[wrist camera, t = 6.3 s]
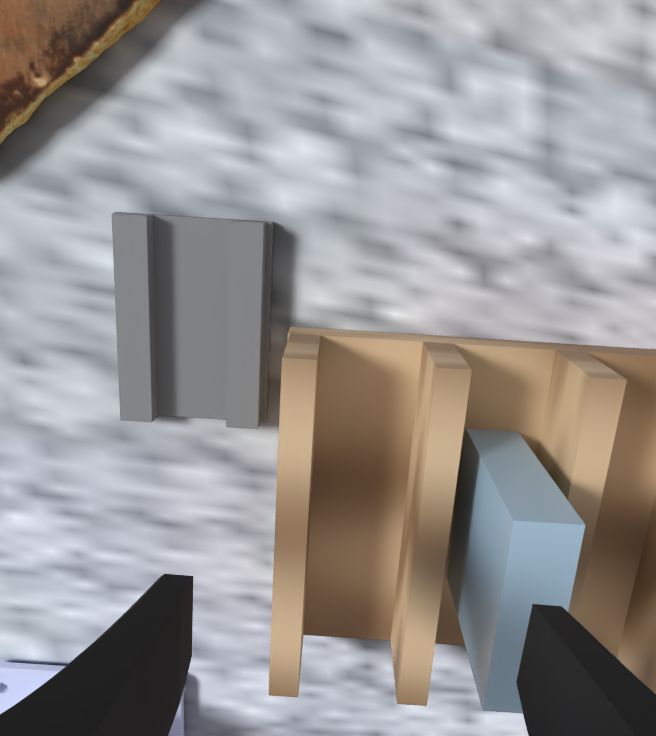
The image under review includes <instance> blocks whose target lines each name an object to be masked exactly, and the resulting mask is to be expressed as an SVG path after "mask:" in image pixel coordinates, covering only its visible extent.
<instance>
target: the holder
mask: <svg viewBox="0 0 656 736" xmlns="http://www.w3.org/2000/svg"><path fill="white" fill-rule="evenodd" d="M112 232H113V255H114V278H115V302H116V325H117V348H118V372H119V395H120V419H121V420H123V421H139V422H153V420H154V419H155V418H156V417H157V416H158V415H165V416H180V417H196V418H212V419H226V427H233V428H248V429H258V427H259V424H260V422H266V420H267V401H268V370H269V339H270V309H271V278H272V247H273V222H266V221H250V220H234V219H218V218H202V217H186V216H170V215H154V214H138V213H122V212H114V214H112Z"/></svg>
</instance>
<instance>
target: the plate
mask: <svg viewBox="0 0 656 736" xmlns="http://www.w3.org/2000/svg"><path fill="white" fill-rule="evenodd" d="M584 530H585V524H584V522H583V521H582V519H581V518H580V517H579V515H578V514H577V513H576V511H575V510H574V508H573V507H572V506H571V504H570V503H569V501H568V500H567V499H566V497H565V496H564V494H563V493H562V492H561V490H560V489H559V488H558V486H557V485H556V483H555V482H554V481H553V479H552V478H551V476H550V475H549V474H548V472H547V471H546V470H545V468H544V467H543V465H542V464H541V463H540V461H539V460H538V458H537V457H536V456H535V454H534V453H533V452H532V450H531V449H530V447H529V446H528V445H527V443H526V442H525V440H524V439H523V438H522V436H521V435H520V433H519V432H516V431H498V430H481V429H466V433H465V441H464V449H463V456H462V464H461V472H460V480H459V487H458V495H457V503H456V511H455V519H454V526H453V534H452V542H451V550H450V557H449V565H448V573H447V579H448V583H449V587H450V590H451V594H452V598H453V602H454V605H455V609H456V613H457V616H458V620H459V624H460V628H461V631H462V635H463V639H464V642H465V646H466V650H467V654H468V657H469V661H470V665H471V669H472V672H473V676H474V680H475V683H476V687H477V691H478V695H479V698H480V702H481V706H482V709H483V711H496V712H512V713H523V711H522V706H521V702H520V697H519V693H518V688H517V684H516V681H517V676H518V671H519V667H520V662H521V657H522V652H523V648H524V643H525V638H526V633H527V628H528V624H529V619H530V614H531V609H532V605H533V604H540V605H552V606H562V607H563V608H564V609H565V610H566V611H567V612H568V610H569V605H570V600H571V595H572V590H573V585H574V580H575V575H576V570H577V565H578V560H579V555H580V550H581V545H582V540H583V535H584Z"/></svg>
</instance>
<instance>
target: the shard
mask: <svg viewBox="0 0 656 736" xmlns="http://www.w3.org/2000/svg"><path fill="white" fill-rule="evenodd" d="M160 1H161V0H0V144H1V143H2V142H3V140H4V139H5V138H6V137H7V136H8V135H9V134H10V133H11V132H12V131H13V130H14V129H15V128H17V127H19V126H21V125H22V124H24V123H25V122H26V121H27V120H28V119H29V118H30V117H31V115H32V114H33V112H34V111H35V110H36V108H37V107H38V106H39V105H40V103H41V102H42V100H43V99H45V98H46V97H47V96H49V95H50V94H51V93H52V92H54V91H55V90H56V89H57V88H58V87H60V86H61V85H62V84H64V83H65V82H67V81H68V80H69V79H70V78H72V77H74V76H75V75H77V74H78V73H79V72H81V71H82V70H84V69H85V68H86V67H88V65H89V64H90V63H91V62H92V61H93V60H95V59H96V58H98V57H99V55H100V54H101V53H102V52H103V51H104V50H105V49H107V48H110V47H111V46H112V45H113V44H114V43H116V42H117V41H119V39H120V38H121V37H122V36H123V34H124V33H126V32H128V31H130V30H132V29H133V28H134V27H135V26H136V25H137V24H139V23H140V22H142V21H143V20H144V19H145V17H146V16H147V15H148V14H149V13H150V12H151V11H152V10H153V8H155V7H156V6H157V5H158V4H159V3H160Z"/></svg>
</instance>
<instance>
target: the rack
mask: <svg viewBox="0 0 656 736" xmlns="http://www.w3.org/2000/svg"><path fill="white" fill-rule="evenodd" d="M466 429H481V430H498V431H516V432H519V433H520V435H521V436H522V438H523V439H524V440H525V442H526V443H527V445H528V446H529V447H530V449H531V450H532V452H533V453H534V454H535V456H536V457H537V458H538V460H539V461H540V463H541V464H542V465H543V467H544V468H545V470H546V471H547V472H548V474H549V475H550V476H551V478H552V479H553V481H554V482H555V483H556V485H557V486H558V488H559V489H560V490H561V492H562V493H563V494H564V496H565V497H566V499H567V500H568V501H569V503H570V504H571V506H572V507H573V508H574V510H575V511H576V513H577V514H578V515H579V517H580V518H581V519H582V521H583V522H584V524H585V530H584V535H583V540H582V545H581V550H580V555H579V560H578V565H577V570H576V575H575V580H574V585H573V590H572V595H571V600H570V605H569V610H568V612H569V613H570V614H571V615H572V616H573V617H574V618H575V619H576V620H577V621H578V622H579V623H580V624H581V625H582V626H583V627H584V628H585V629H587V630H588V631H589V632H590V633H591V634H592V635H593V636H594V637H595V638H596V639H597V640H598V641H599V642H600V643H601V644H602V645H603V646H604V647H605V648H606V649H607V650H608V651H609V652H610V653H611V654H613V655H617V656H618V658H619V660H620V662H621V663H622V664H623V665H624V666H625V667H626V668H627V669H629V670H630V671H631V672H632V673H633V674H634V675H635V676H636V677H637V678H638V679H639V680H640V681H642V682H643V683H644V684H645V685H646V686H647V687H648V688H649V689H651V690H652V691H653V692H654V693H655V694H656V350H654V349H638V348H622V347H606V346H590V345H575V344H559V343H543V342H527V341H512V340H496V339H480V338H464V337H448V336H433V335H417V334H401V333H385V332H370V331H354V330H338V329H322V328H306V327H291V326H290V328H289V331H288V334H287V345H286V348H285V350H284V353H283V356H282V367H281V392H280V418H279V444H278V469H277V495H276V521H275V546H274V572H273V598H272V623H271V649H270V675H269V695H271V696H286V697H298V691H299V679H300V668H301V656H302V645H303V635H315V636H331V637H346V638H361V639H376V640H391V649H392V659H393V668H394V677H395V687H396V696H397V704H407V705H422V706H427V699H428V692H429V684H430V677H431V669H432V662H433V655H434V647H435V643H437V644H452V645H465V642H464V639H463V635H462V631H461V628H460V624H459V620H458V616H457V613H456V609H455V605H454V602H453V598H452V594H451V590H450V587H449V583H448V579H447V573H448V565H449V557H450V550H451V542H452V534H453V526H454V519H455V511H456V503H457V495H458V487H459V480H460V472H461V464H462V456H463V449H464V441H465V433H466Z"/></svg>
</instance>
